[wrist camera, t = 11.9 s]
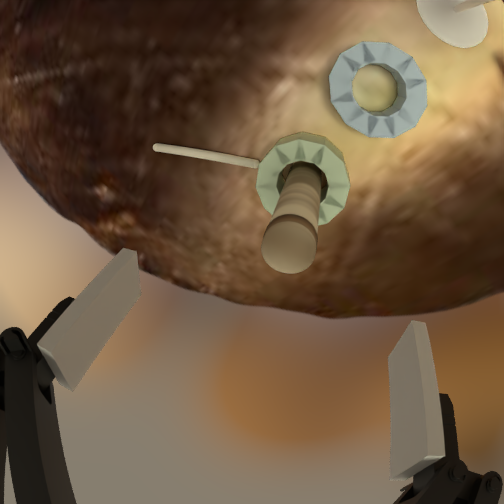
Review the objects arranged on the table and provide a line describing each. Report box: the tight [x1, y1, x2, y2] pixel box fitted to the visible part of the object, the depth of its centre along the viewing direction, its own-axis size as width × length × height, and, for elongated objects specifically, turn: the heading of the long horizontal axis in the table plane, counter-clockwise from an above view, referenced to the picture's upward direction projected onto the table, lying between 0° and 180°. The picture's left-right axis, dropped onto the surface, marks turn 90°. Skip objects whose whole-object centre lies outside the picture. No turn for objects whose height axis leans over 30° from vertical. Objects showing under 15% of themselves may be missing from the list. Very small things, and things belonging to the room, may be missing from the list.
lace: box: [153, 143, 260, 169], centre depth 34 cm, size 1×13×1 cm, turn 81°
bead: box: [256, 132, 350, 225], centre depth 32 cm, size 9×9×4 cm
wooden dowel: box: [261, 160, 322, 273], centre depth 27 cm, size 4×4×16 cm
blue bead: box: [329, 42, 427, 138], centre depth 25 cm, size 9×9×4 cm
